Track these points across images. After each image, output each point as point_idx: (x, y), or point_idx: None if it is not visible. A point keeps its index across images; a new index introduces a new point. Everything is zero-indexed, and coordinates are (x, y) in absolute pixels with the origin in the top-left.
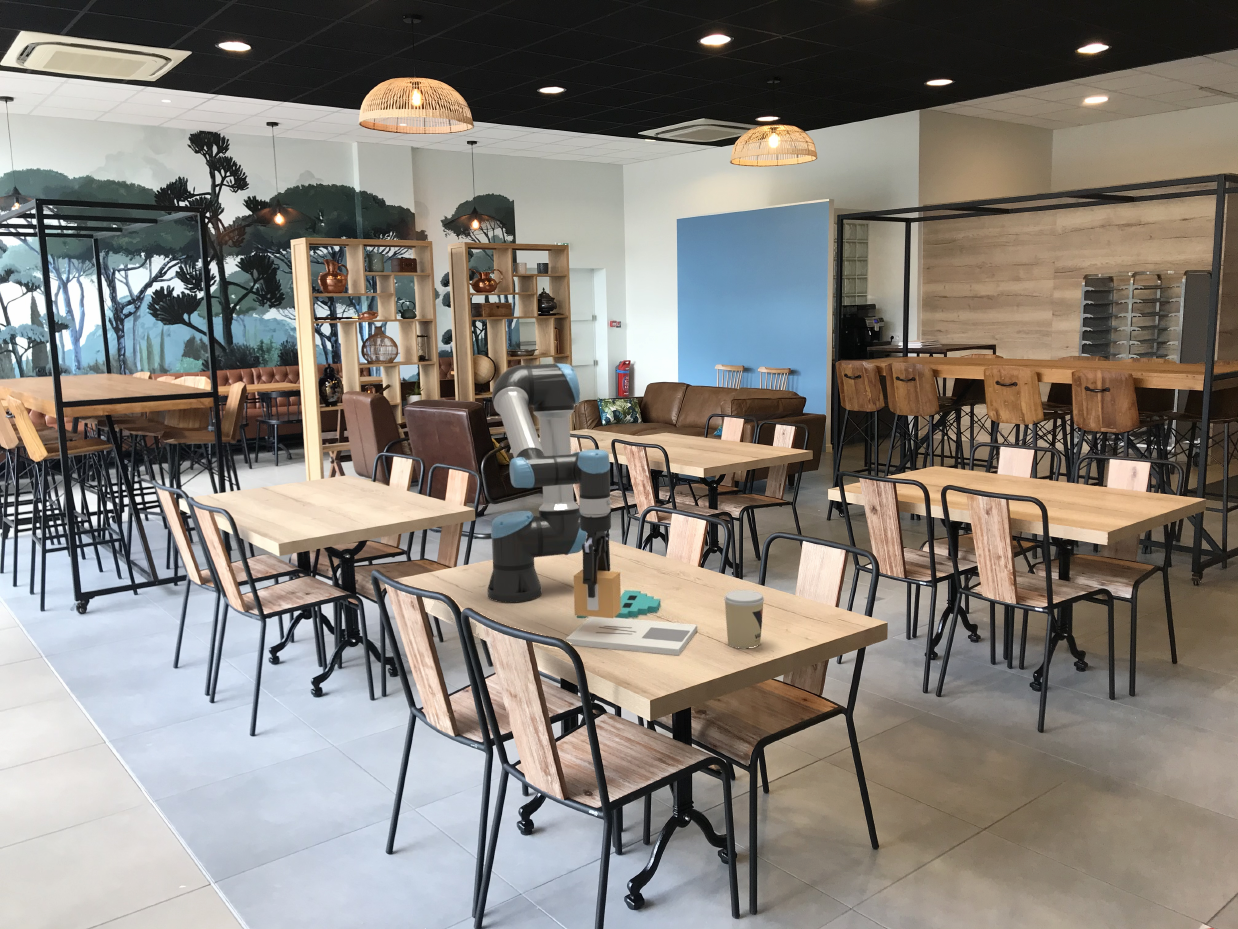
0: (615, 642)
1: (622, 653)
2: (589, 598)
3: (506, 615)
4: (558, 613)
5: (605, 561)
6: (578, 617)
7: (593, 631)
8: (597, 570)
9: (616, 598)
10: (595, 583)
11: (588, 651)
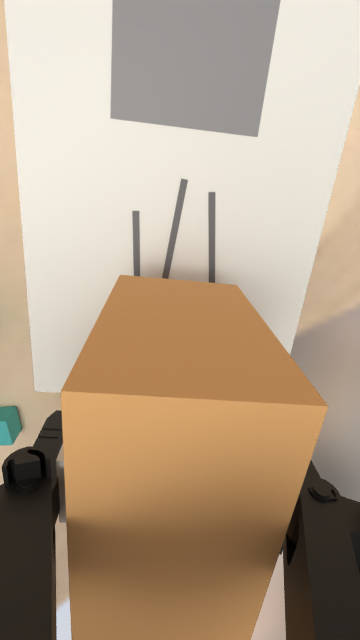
0: (312, 239)
1: (349, 199)
2: None
3: (67, 574)
4: (3, 482)
5: (25, 633)
6: (20, 425)
7: None
8: (313, 591)
9: (189, 308)
10: (325, 487)
11: (327, 317)
